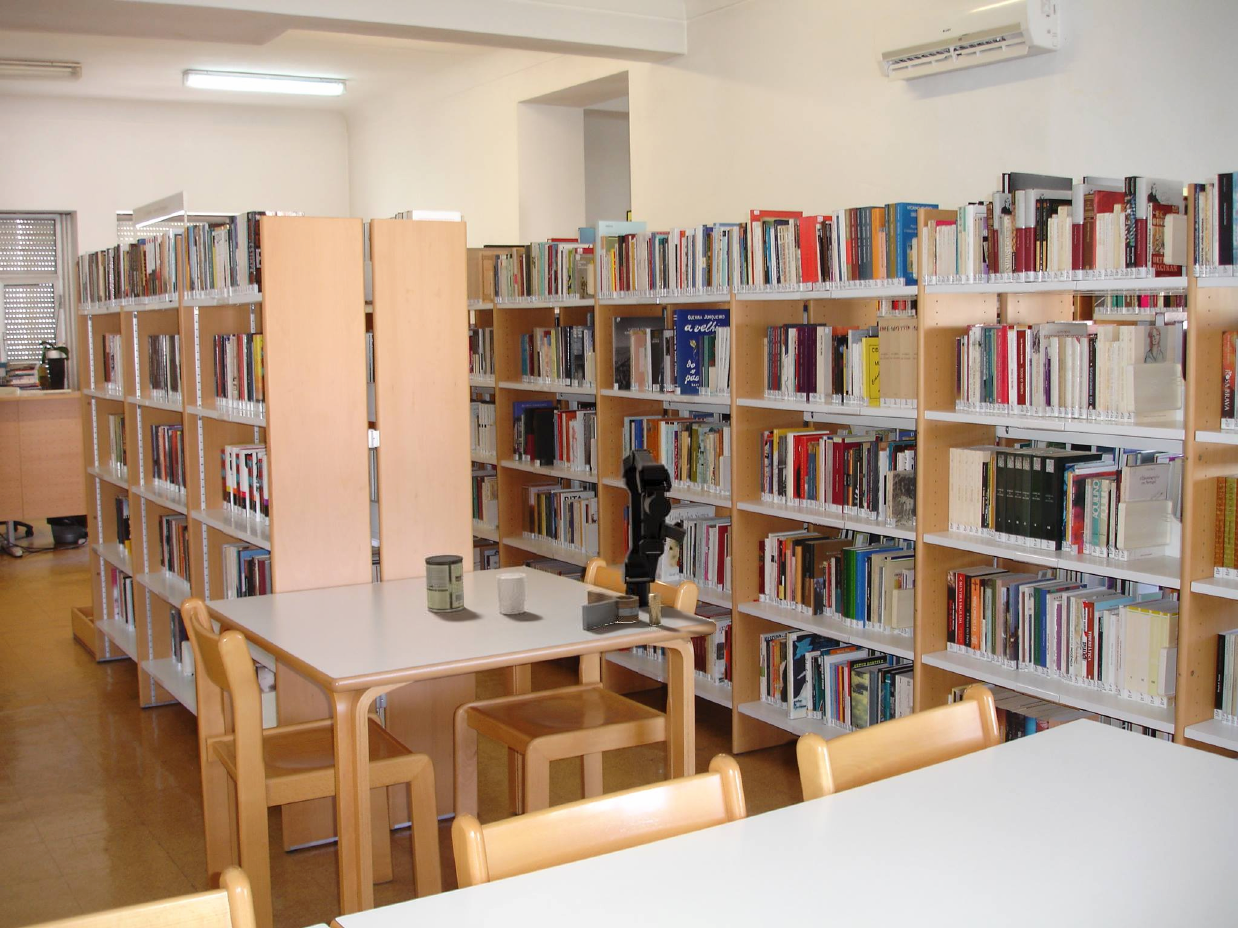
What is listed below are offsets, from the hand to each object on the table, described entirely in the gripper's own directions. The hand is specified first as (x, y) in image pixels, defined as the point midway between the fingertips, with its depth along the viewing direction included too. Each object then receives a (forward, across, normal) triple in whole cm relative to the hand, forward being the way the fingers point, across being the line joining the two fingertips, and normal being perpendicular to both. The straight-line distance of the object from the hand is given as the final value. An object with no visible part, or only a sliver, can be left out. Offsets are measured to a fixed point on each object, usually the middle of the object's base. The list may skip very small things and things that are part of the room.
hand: (653, 574), depth 300 cm
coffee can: (+13, +20, +58) cm, 63 cm away
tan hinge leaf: (+13, +9, +12) cm, 19 cm away
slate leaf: (+13, +1, +11) cm, 17 cm away
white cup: (+13, +15, +39) cm, 44 cm away
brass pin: (+13, 0, 0) cm, 13 cm away
